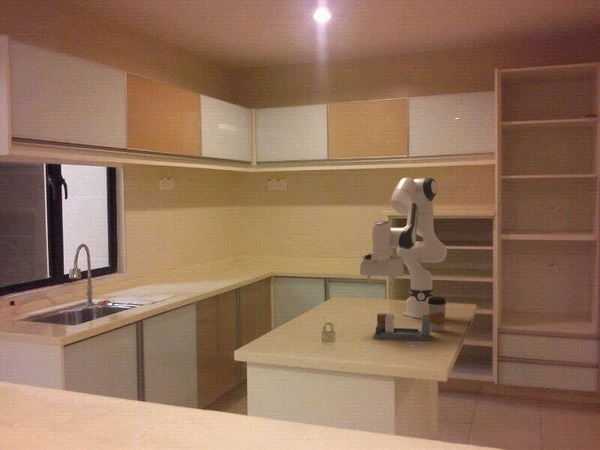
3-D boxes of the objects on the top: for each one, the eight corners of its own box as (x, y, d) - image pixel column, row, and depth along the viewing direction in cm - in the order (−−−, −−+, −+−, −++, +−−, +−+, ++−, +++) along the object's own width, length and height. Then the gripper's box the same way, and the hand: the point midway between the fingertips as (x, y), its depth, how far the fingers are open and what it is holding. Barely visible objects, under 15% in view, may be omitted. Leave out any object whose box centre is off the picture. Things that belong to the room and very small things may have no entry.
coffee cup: (433, 332, 265) (433, 300, 264) (424, 329, 273) (424, 297, 272) (449, 331, 267) (449, 299, 266) (440, 327, 275) (440, 296, 274)
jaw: (377, 329, 265) (377, 313, 265) (394, 330, 263) (394, 313, 263) (375, 333, 257) (374, 316, 256) (393, 334, 255) (393, 317, 255)
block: (378, 328, 274) (378, 313, 274) (386, 329, 273) (386, 313, 273) (377, 330, 270) (377, 314, 270) (385, 331, 269) (385, 315, 269)
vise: (376, 332, 267) (376, 312, 267) (429, 334, 261) (429, 314, 261) (373, 338, 255) (373, 317, 255) (429, 341, 250) (429, 319, 249)
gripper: (404, 255, 271) (404, 284, 271) (361, 254, 276) (361, 283, 276) (403, 256, 265) (403, 286, 265) (359, 256, 270) (359, 285, 270)
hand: (381, 285), depth 271 cm, fingers open, 8 cm apart
